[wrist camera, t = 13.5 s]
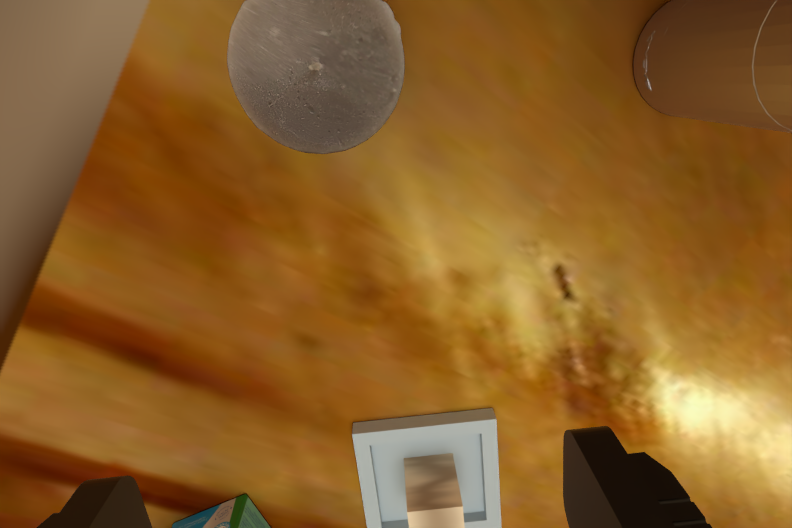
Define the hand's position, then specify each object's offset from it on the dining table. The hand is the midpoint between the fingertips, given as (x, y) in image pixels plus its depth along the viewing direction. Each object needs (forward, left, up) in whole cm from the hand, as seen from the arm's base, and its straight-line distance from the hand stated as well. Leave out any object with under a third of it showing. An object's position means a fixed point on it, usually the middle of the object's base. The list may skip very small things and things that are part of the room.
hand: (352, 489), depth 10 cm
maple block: (-2, +32, -36) cm, 48 cm away
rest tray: (-2, +32, -36) cm, 48 cm away
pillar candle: (+2, -8, -36) cm, 37 cm away
